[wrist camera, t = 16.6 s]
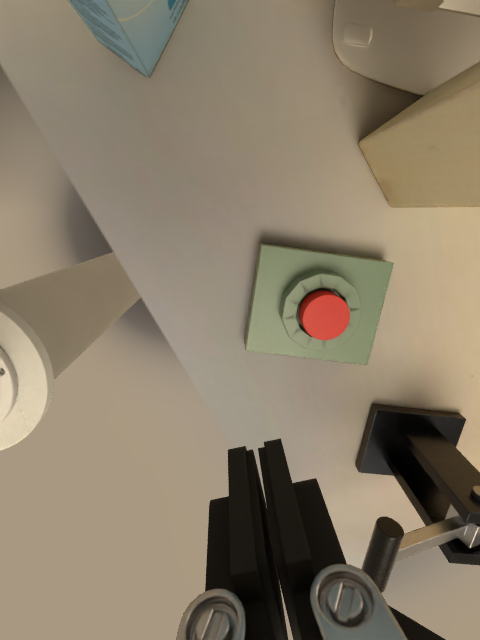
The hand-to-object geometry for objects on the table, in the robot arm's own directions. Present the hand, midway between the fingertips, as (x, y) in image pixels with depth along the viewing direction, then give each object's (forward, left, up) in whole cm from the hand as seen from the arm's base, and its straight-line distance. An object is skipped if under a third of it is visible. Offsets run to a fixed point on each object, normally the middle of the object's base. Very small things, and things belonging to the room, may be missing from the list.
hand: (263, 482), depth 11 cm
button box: (+7, -2, -25) cm, 26 cm away
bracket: (+15, -20, -25) cm, 35 cm away
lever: (+10, -18, -13) cm, 24 cm away
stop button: (+7, -2, -21) cm, 22 cm away
